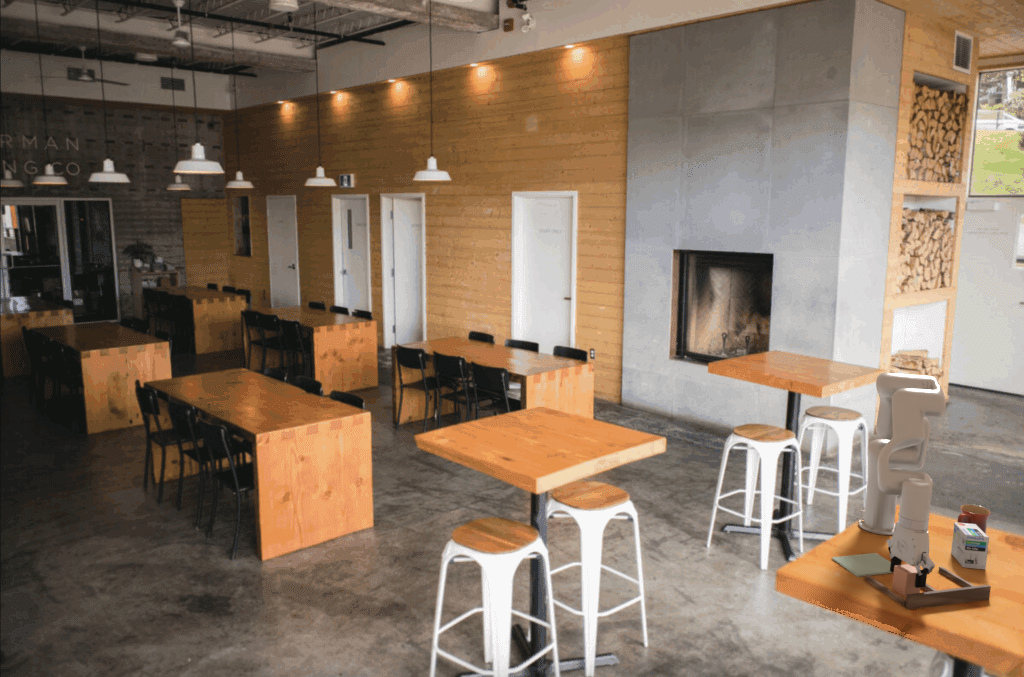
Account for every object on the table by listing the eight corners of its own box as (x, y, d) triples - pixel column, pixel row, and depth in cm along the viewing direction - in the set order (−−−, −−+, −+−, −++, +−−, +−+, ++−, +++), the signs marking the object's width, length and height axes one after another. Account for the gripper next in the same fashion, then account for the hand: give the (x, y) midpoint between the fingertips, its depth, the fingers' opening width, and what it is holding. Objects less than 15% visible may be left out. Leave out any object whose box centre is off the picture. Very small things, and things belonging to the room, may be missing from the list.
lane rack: (864, 579, 225) (865, 567, 224) (941, 571, 231) (942, 558, 230) (907, 609, 208) (909, 596, 207) (989, 599, 214) (990, 586, 214)
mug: (968, 531, 261) (972, 502, 259) (993, 541, 253) (996, 512, 251) (944, 536, 256) (947, 507, 255) (968, 547, 248) (972, 517, 247)
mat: (831, 559, 238) (831, 557, 238) (875, 554, 242) (875, 552, 242) (857, 576, 227) (857, 575, 226) (902, 571, 230) (903, 570, 230)
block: (892, 588, 220) (894, 565, 219) (906, 586, 221) (909, 564, 220) (904, 596, 215) (907, 573, 214) (919, 594, 216) (922, 571, 215)
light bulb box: (986, 570, 232) (990, 537, 230) (962, 568, 233) (966, 535, 232) (972, 555, 242) (976, 523, 241) (949, 553, 244) (953, 521, 242)
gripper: (880, 511, 222) (875, 566, 225) (925, 535, 206) (918, 594, 208) (902, 510, 224) (896, 564, 226) (948, 533, 207) (941, 592, 210)
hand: (907, 579), depth 217 cm, fingers open, 9 cm apart
